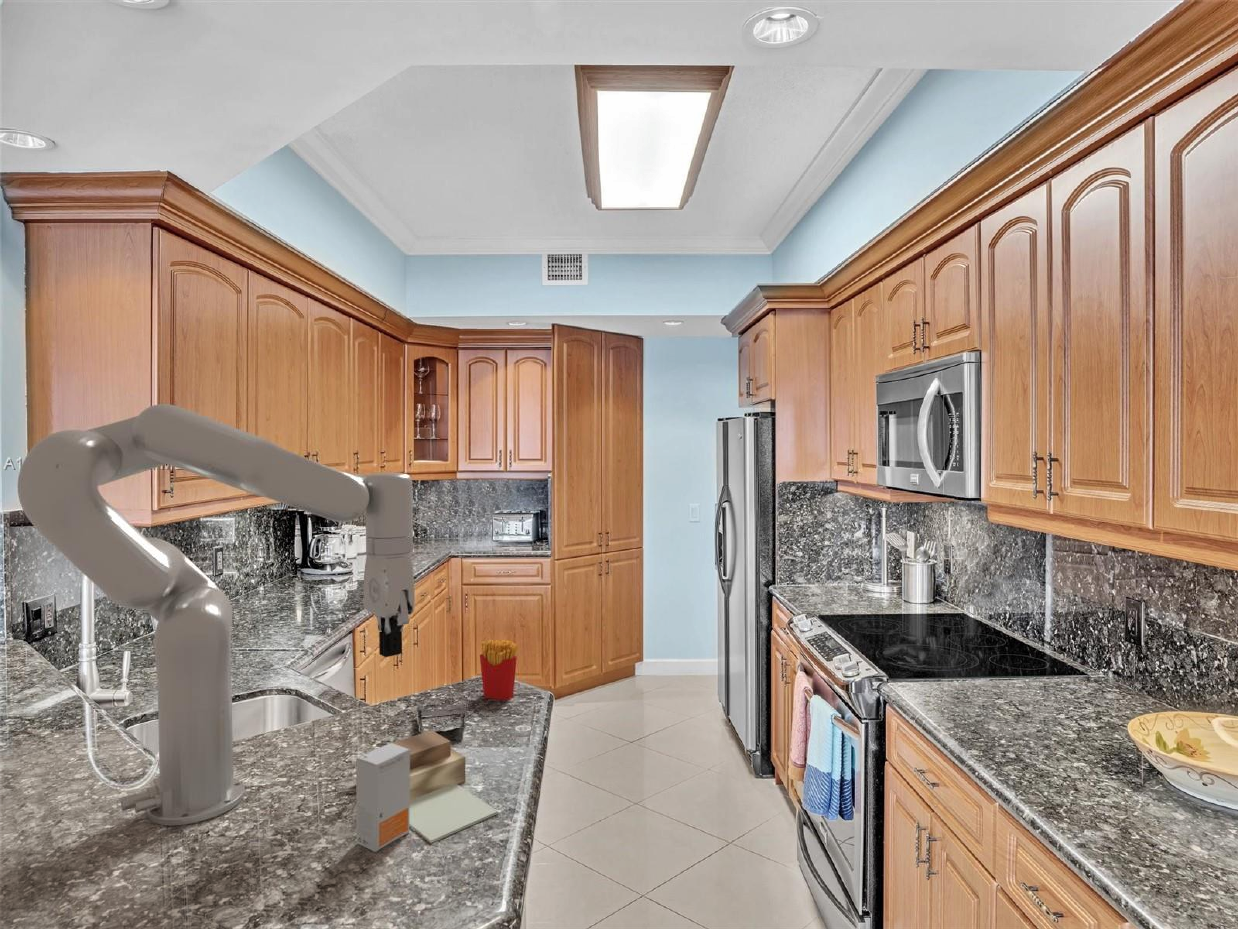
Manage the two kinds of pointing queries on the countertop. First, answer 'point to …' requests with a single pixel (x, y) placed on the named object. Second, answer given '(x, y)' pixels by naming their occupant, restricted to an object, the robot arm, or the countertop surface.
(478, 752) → the countertop surface
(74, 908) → the countertop surface
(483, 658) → the french fries
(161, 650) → the robot arm
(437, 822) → the mat
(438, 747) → the walnut block
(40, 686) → the countertop surface
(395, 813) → the skincare box
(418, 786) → the platform
